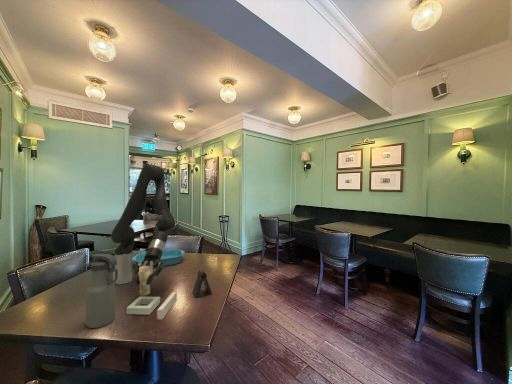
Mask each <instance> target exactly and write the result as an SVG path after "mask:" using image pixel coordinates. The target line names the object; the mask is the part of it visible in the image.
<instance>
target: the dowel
mask: <svg viewBox="0 0 512 384" xmlns="http://www.w3.org/2000/svg"><path fill="white" fill-rule="evenodd" d="M149 275H150V266H142V267H140V268H139V285H138V286H139V288H138V289H139V290H138V291H139V292H138V293H139V294H138V295H139V296H147V295H149V294H150V293H151V284H150V285H147V284H146V282H147V279H148V277H149Z"/></svg>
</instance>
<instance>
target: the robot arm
mask: <svg viewBox="0 0 512 384" xmlns="http://www.w3.org/2000/svg"><path fill="white" fill-rule="evenodd" d="M151 181H153V183H154V186H155V192H154V196H153V205H154V206H153V207H154V210H155V214H156V215H157V216H162V218H161V219H159V220H158V221H157V222H156V224H155V226H154V231H153V232H154V235H153V237H152V239H151V242H150V243H149V245H148V247H147V250H146V252H145V253H146V254H145V257H144V260H143V261H142V262H140V263H138V262H136V263H135V265H134V271H133V261H132V258H133V249H134V247H135V237H136V236H135V235H136V234H135V230H134V228H133V226H131V225H132V223H134V221H135V220H136V219H137V218H138V217H139V216H140V215H141V214H142V212H144V210H145V207H146V205H147V202H148V193H147V190H148V187H149V185H150V183H151ZM175 227H176V221H175V218H174V216H173V215H172V213H171V211H170V209H169V205H168V201H167V194H166V183H165V172H164V169H163V168H162V167H161V166H159V165H157V164H156V165H155V164H151V163H147V164H144V166H142V169H141V170H140V172H139V176H138V179H137V181H136V184H135V186H134V189H133V192H132V194H131V195H130V198H129V199H128V201H127V203H126V206H125V208H124V210H123V212H122V214H121V216H120V217H119V220H118V221H117V223H116V225H115V227H114V228H113V229H112V231H111V235H110V238H111V241H112V242H113V243H115V244H119V245H118V246H117V247H116V248H115V249H114V257H115V258H116V260H117V265H115V269H117V270H118V278H117V280H116V281H115V282H114V284H115V285H126V284H128V283H130V282H132V281H133V272H134V274H135V276H136V278H135V281H134V283H135V285H136V286H139V268H140V267H141V265H142V266H150V275H149V277H148V279H147V282H146V284H147V285H150V286H151V284H152V282H153V279H154V277H155V276H156V277H158V276H159V275H160V273H161V272H162V270H163V268H164V267H165V266H164V263H163V262H160V259H161V256H162V254H163V251H165V247H166V244H167V241H168V238H169V236H168V233H167V232H166V231H169V230H172V229H174V228H175ZM157 266H158V267H157ZM114 279H115V271H114V272H112V281H113V280H114Z"/></svg>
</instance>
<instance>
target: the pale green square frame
mask: <svg viewBox="0 0 512 384" xmlns="http://www.w3.org/2000/svg"><path fill="white" fill-rule="evenodd" d="M160 303H161V296H139V297H138V298H136V299H135V300H134V301H133V302H132V303H130V304H129V305H128V306H127V307H126V315H148V316H149V315H151V314H152V312H153V311H154V310H155V309H156V308H157V307H158V306H159V305H160Z"/></svg>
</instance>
